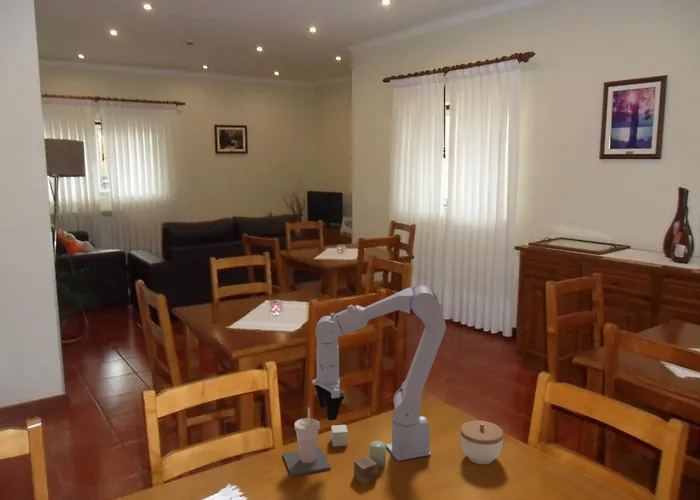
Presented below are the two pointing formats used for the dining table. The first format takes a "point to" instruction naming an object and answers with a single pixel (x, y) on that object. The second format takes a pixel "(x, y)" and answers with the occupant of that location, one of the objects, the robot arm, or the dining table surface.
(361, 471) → the walnut block
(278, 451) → the dining table surface
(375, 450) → the sage tin
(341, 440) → the grey block
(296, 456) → the mat
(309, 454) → the smoothie
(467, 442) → the lidded jar
